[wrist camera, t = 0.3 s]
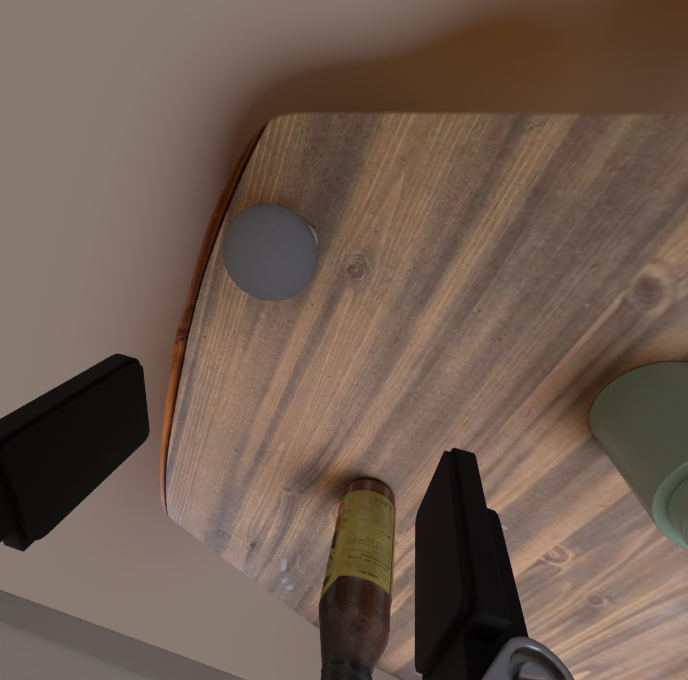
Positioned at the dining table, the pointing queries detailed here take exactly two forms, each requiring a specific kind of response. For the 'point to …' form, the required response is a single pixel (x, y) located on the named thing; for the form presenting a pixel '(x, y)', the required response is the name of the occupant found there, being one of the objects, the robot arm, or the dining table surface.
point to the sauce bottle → (358, 583)
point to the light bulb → (270, 252)
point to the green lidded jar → (649, 440)
